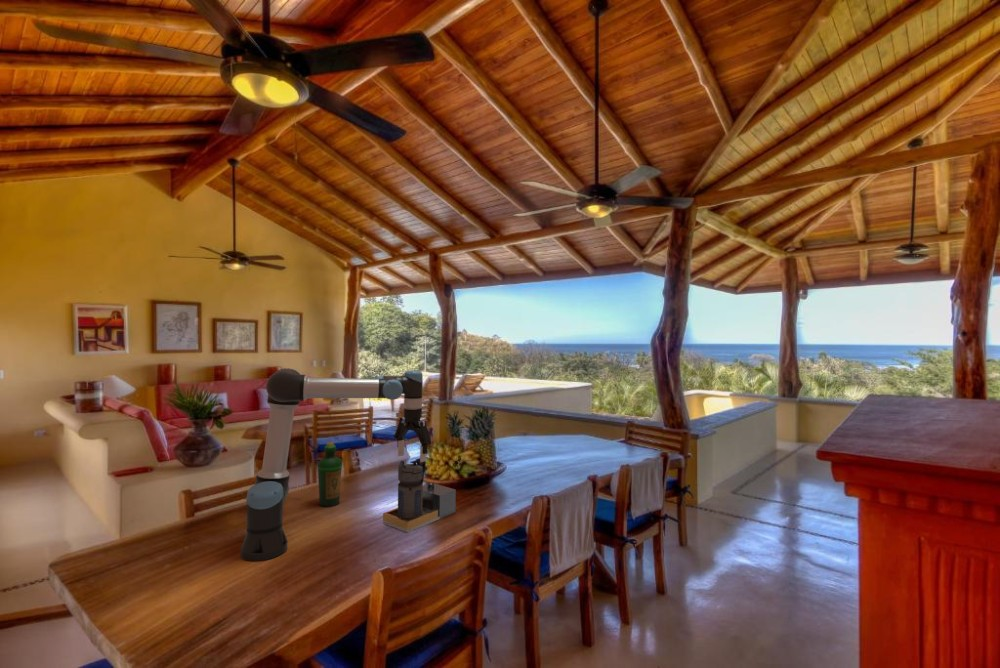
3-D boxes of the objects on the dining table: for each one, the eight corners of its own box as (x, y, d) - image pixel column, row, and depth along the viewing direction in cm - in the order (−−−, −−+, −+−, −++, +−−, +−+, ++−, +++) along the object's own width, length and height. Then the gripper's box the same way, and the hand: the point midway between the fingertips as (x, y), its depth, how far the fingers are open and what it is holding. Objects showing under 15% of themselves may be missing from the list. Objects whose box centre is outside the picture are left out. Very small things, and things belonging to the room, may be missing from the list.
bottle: (336, 508, 215) (337, 445, 214) (313, 507, 215) (314, 445, 215) (345, 500, 225) (345, 440, 225) (322, 499, 225) (323, 440, 225)
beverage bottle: (431, 516, 203) (432, 458, 203) (406, 526, 193) (407, 464, 193) (416, 510, 210) (416, 453, 210) (391, 519, 200) (392, 459, 200)
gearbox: (407, 532, 190) (407, 502, 190) (382, 523, 199) (383, 494, 199) (455, 512, 212) (455, 485, 212) (431, 504, 221) (431, 478, 221)
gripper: (440, 410, 197) (439, 462, 197) (399, 403, 212) (398, 451, 212) (427, 412, 191) (426, 465, 191) (386, 405, 206) (385, 454, 206)
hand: (411, 458), depth 201 cm, fingers open, 13 cm apart
